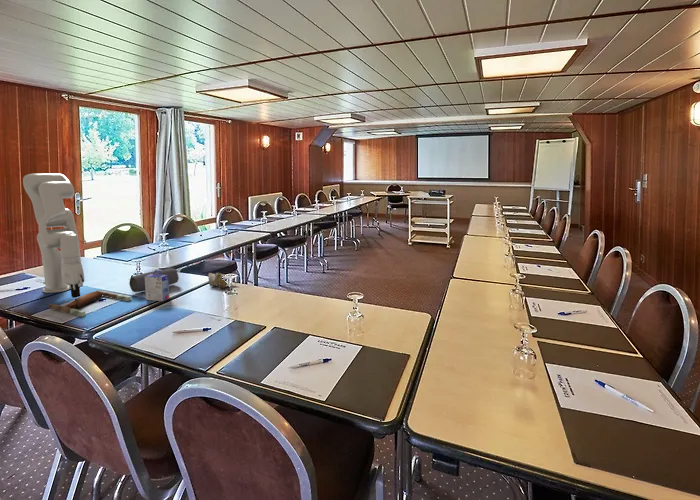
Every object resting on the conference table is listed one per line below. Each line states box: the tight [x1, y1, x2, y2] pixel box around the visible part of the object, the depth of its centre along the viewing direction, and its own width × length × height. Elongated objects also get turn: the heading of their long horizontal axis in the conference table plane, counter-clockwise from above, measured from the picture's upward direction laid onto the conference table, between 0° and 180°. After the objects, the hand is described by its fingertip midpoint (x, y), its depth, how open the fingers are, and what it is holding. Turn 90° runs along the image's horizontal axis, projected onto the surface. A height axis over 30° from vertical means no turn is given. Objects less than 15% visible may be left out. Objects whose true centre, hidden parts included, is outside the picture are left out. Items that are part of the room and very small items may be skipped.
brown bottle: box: [64, 290, 103, 310], centre depth 198 cm, size 18×7×7 cm
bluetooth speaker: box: [129, 267, 180, 293], centre depth 220 cm, size 23×9×10 cm, turn 144°
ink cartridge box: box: [145, 269, 170, 302], centre depth 205 cm, size 10×6×14 cm, turn 79°
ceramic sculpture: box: [208, 271, 237, 289], centre depth 228 cm, size 11×9×15 cm
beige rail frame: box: [47, 289, 132, 318], centre depth 196 cm, size 23×24×2 cm
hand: (76, 296), depth 200 cm, fingers closed
